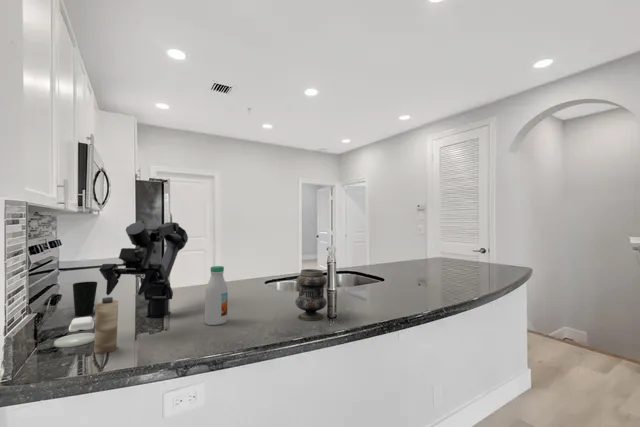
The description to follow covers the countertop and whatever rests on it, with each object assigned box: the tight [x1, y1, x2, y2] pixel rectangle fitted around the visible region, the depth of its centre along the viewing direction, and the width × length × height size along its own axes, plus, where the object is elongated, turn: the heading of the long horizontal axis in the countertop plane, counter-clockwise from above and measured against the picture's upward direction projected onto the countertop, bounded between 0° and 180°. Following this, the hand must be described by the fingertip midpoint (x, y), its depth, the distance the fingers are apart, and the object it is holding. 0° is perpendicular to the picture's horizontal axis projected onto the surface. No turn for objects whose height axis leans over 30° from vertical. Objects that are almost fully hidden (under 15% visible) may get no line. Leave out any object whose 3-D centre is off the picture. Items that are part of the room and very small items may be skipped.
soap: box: [68, 316, 95, 333], centre depth 107 cm, size 9×7×3 cm
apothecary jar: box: [295, 268, 328, 322], centre depth 121 cm, size 12×12×18 cm
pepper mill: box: [93, 296, 119, 354], centre depth 88 cm, size 5×5×14 cm
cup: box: [72, 281, 98, 317], centre depth 122 cm, size 8×8×12 cm
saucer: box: [53, 332, 95, 349], centre depth 94 cm, size 10×10×1 cm
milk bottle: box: [204, 265, 229, 326], centre depth 114 cm, size 8×8×20 cm
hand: (123, 294), depth 96 cm, fingers open, 9 cm apart
